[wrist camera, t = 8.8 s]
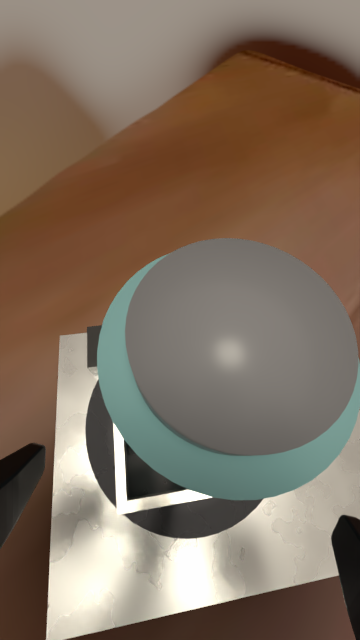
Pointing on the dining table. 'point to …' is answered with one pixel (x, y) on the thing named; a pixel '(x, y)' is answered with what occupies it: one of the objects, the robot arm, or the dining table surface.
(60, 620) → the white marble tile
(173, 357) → the bottle
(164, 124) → the dining table surface
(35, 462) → the robot arm
